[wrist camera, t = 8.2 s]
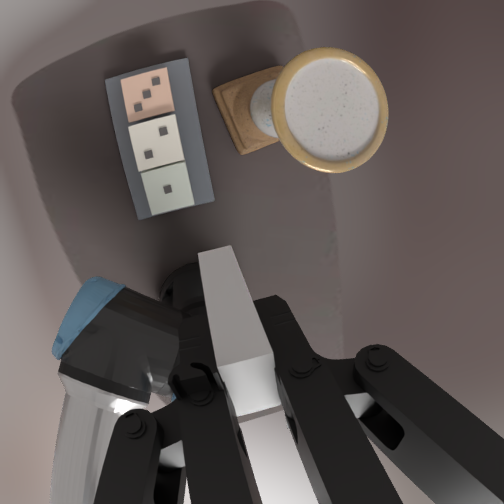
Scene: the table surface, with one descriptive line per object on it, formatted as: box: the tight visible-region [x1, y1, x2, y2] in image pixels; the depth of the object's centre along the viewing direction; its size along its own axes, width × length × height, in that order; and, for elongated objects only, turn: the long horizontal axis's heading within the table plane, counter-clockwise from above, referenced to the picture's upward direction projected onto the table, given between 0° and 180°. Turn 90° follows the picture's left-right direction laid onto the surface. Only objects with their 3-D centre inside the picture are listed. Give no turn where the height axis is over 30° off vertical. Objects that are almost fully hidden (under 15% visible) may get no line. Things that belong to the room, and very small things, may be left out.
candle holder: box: [212, 47, 388, 173], centre depth 30 cm, size 11×11×24 cm
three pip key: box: [121, 67, 175, 123], centre depth 33 cm, size 6×6×4 cm
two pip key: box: [128, 114, 184, 171], centre depth 35 cm, size 6×6×4 cm
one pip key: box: [141, 158, 195, 215], centre depth 39 cm, size 6×6×4 cm
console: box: [105, 58, 215, 220], centre depth 37 cm, size 22×12×4 cm, turn 9°
